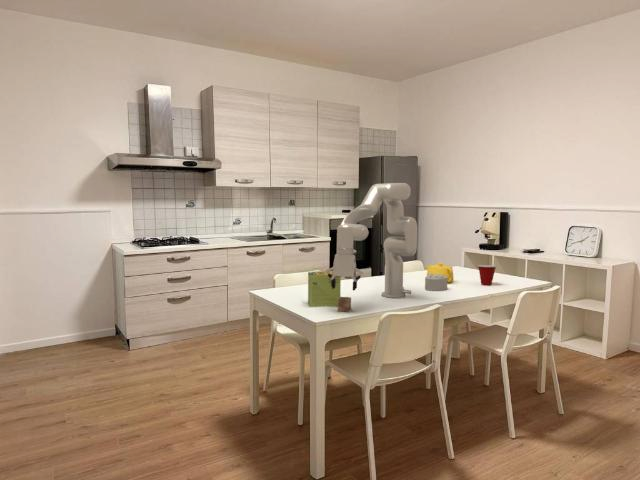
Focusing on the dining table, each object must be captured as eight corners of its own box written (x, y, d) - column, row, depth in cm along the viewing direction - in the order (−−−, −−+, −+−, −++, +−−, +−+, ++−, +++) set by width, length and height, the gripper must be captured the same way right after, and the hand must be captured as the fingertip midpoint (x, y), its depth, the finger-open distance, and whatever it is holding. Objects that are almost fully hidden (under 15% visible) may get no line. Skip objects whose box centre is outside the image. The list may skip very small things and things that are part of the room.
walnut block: (350, 310, 205) (351, 297, 204) (348, 312, 200) (348, 299, 200) (340, 309, 207) (340, 296, 206) (337, 311, 202) (337, 299, 201)
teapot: (419, 279, 282) (420, 261, 281) (433, 278, 289) (433, 260, 288) (444, 285, 266) (445, 265, 265) (458, 283, 273) (458, 264, 271)
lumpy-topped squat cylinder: (449, 289, 253) (450, 274, 252) (434, 292, 245) (435, 277, 244) (434, 286, 261) (435, 272, 260) (420, 289, 253) (420, 274, 252)
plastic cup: (491, 282, 274) (492, 263, 272) (498, 286, 263) (499, 266, 262) (473, 282, 273) (474, 263, 272) (480, 286, 263) (481, 266, 261)
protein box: (340, 306, 212) (341, 274, 211) (308, 306, 211) (308, 274, 210) (338, 301, 223) (338, 270, 221) (307, 301, 221) (307, 271, 220)
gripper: (365, 252, 202) (364, 289, 203) (329, 250, 207) (328, 286, 208) (361, 253, 194) (360, 292, 196) (324, 251, 200) (323, 289, 201)
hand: (343, 289), depth 202 cm, fingers open, 9 cm apart
